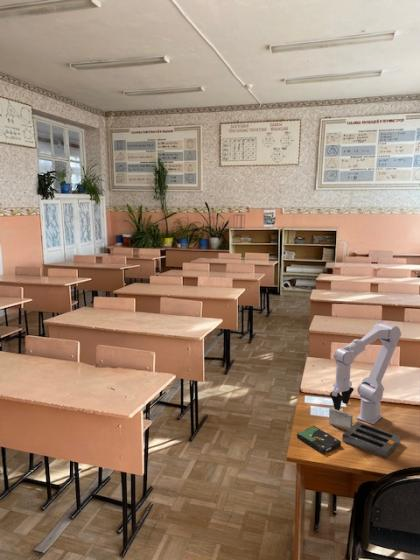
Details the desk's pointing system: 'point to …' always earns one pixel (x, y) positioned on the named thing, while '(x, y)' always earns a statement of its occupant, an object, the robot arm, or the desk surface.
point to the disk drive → (319, 439)
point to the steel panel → (340, 418)
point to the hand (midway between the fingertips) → (341, 406)
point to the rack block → (371, 439)
